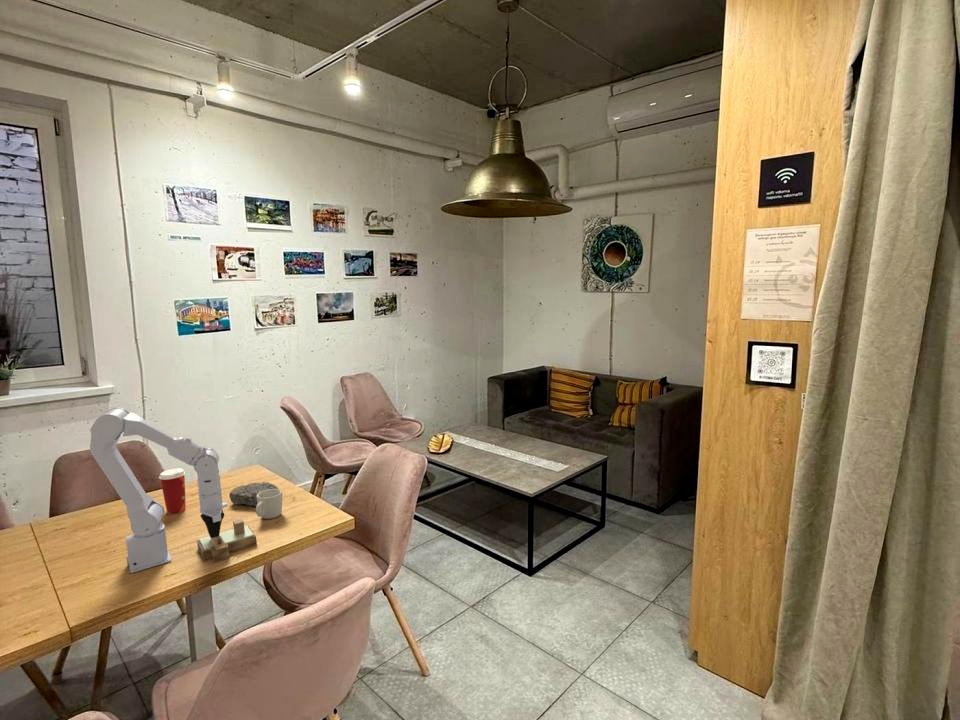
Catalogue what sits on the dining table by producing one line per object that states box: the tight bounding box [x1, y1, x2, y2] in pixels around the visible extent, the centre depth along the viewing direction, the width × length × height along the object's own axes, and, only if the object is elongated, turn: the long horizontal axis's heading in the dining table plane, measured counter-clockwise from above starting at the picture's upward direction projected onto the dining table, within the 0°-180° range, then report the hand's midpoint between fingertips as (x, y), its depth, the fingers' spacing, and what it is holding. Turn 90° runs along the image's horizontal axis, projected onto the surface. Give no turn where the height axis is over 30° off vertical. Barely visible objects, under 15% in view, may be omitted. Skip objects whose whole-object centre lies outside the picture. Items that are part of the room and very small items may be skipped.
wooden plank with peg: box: [211, 536, 225, 550], centre depth 141 cm, size 2×6×2 cm, turn 38°
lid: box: [198, 518, 255, 551], centre depth 146 cm, size 13×8×4 cm, turn 128°
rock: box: [228, 481, 280, 507], centre depth 179 cm, size 13×6×15 cm
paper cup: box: [158, 467, 187, 515], centre depth 172 cm, size 8×8×14 cm
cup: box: [255, 488, 283, 520], centre depth 165 cm, size 11×8×8 cm
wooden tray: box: [196, 525, 257, 564], centre depth 145 cm, size 14×12×3 cm
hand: (214, 536), depth 145 cm, fingers closed
